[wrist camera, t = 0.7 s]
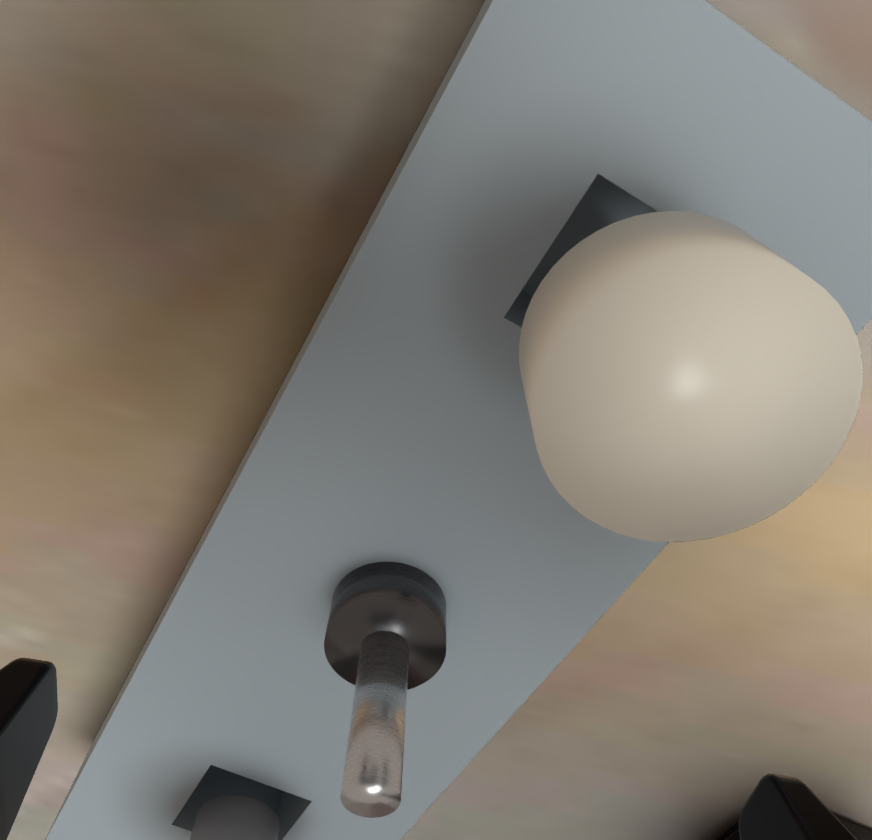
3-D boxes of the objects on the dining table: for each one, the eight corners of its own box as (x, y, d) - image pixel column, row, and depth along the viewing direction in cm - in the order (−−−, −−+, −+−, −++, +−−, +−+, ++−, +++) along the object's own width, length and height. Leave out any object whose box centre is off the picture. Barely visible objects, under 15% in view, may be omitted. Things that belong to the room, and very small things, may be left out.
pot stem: (467, 590, 19) (475, 781, 14) (411, 663, 21) (400, 861, 16) (364, 543, 19) (336, 727, 14) (313, 621, 20) (269, 815, 15)
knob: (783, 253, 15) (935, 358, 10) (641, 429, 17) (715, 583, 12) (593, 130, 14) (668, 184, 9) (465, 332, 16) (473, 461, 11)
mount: (874, 164, 18) (978, 199, 15) (330, 827, 30) (314, 933, 27) (528, -82, 16) (552, -111, 12) (92, 743, 28) (42, 845, 25)
